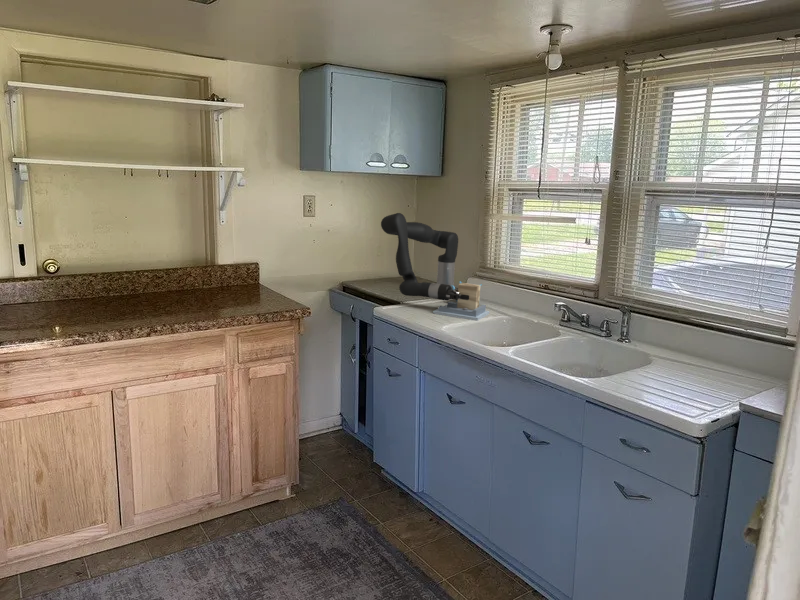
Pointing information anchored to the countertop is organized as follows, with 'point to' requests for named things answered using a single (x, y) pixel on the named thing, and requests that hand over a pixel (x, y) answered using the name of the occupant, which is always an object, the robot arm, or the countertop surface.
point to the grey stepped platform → (462, 311)
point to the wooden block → (473, 296)
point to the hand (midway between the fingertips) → (472, 296)
